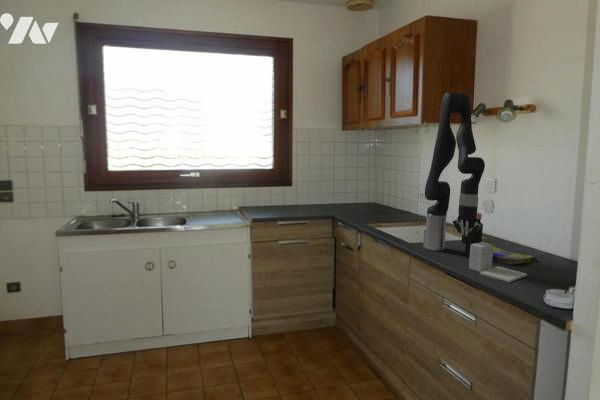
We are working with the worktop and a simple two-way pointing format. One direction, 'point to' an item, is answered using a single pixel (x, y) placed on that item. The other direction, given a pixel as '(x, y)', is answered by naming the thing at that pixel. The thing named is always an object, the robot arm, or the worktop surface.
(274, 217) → the worktop surface
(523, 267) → the worktop surface
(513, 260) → the dish towel
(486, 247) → the small box
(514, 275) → the mat
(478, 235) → the bottle
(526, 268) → the worktop surface
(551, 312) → the worktop surface
